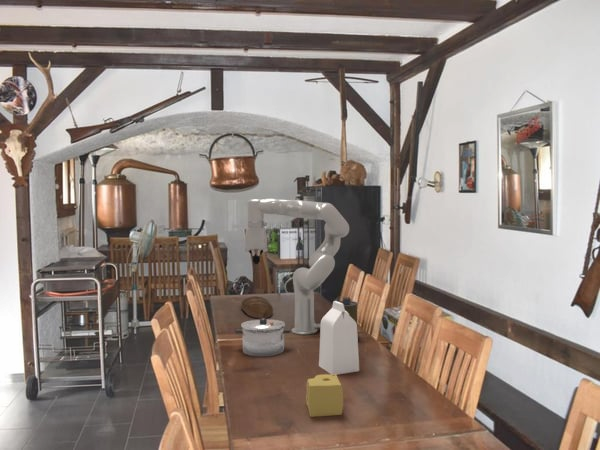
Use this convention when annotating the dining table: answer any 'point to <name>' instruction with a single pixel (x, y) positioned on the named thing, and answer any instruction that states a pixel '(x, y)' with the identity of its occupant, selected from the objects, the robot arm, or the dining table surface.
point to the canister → (350, 307)
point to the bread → (257, 307)
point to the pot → (263, 341)
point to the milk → (338, 341)
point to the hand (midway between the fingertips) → (256, 263)
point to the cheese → (324, 395)
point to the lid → (263, 324)
